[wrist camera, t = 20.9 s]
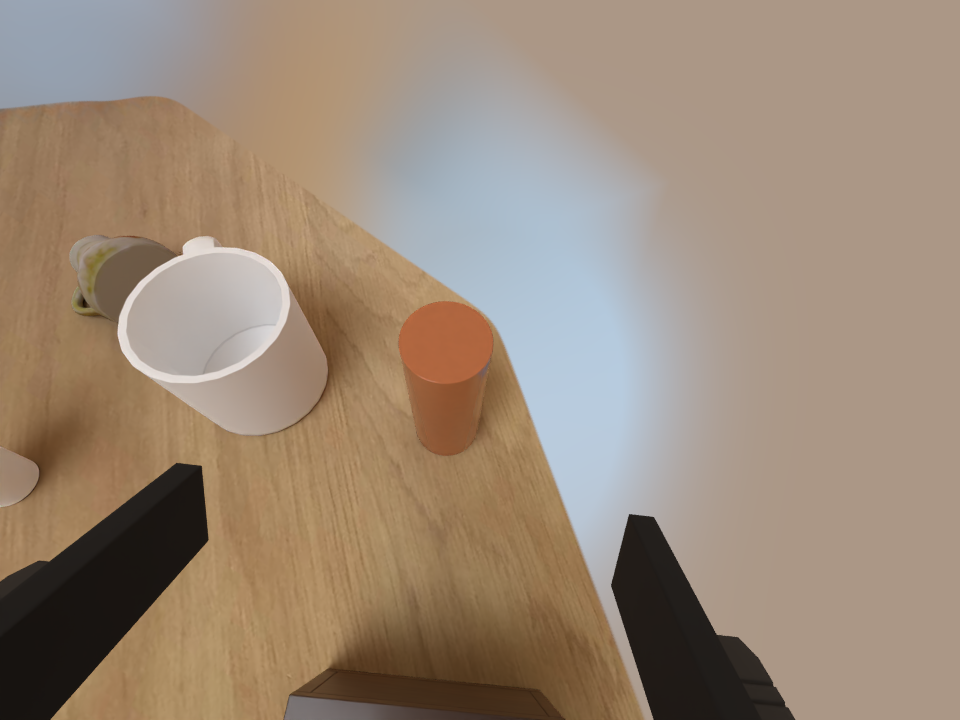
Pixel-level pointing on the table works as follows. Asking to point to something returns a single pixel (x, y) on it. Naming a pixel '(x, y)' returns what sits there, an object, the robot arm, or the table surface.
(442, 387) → the orange cylindrical post
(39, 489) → the table surface
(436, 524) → the table surface
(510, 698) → the cabinet
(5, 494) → the cup
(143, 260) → the mug
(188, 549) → the robot arm
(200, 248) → the mug
